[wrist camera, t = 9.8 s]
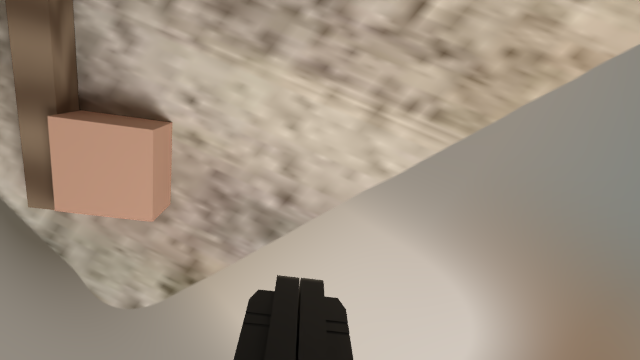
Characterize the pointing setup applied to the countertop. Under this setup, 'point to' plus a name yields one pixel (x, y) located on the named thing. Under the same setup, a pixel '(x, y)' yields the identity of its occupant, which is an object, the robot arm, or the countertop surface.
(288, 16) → the countertop surface
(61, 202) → the terracotta block
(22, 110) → the walnut board
